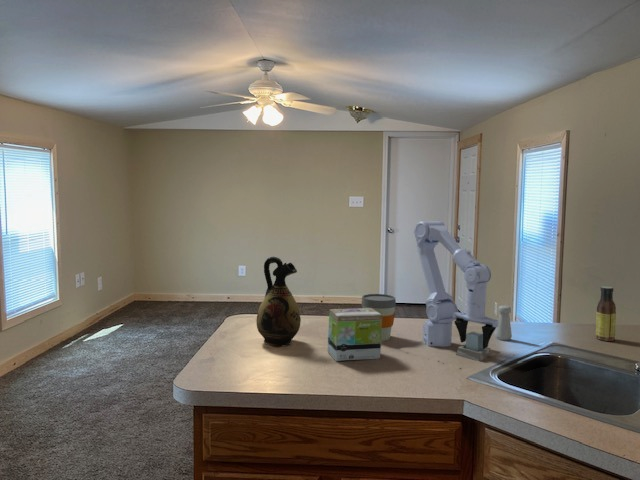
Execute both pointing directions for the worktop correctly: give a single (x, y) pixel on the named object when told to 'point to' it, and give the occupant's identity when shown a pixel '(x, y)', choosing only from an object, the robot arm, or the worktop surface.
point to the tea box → (354, 334)
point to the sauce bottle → (606, 315)
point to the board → (476, 353)
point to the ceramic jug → (278, 307)
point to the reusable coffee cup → (382, 310)
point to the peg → (474, 341)
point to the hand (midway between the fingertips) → (473, 344)
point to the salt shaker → (503, 324)
